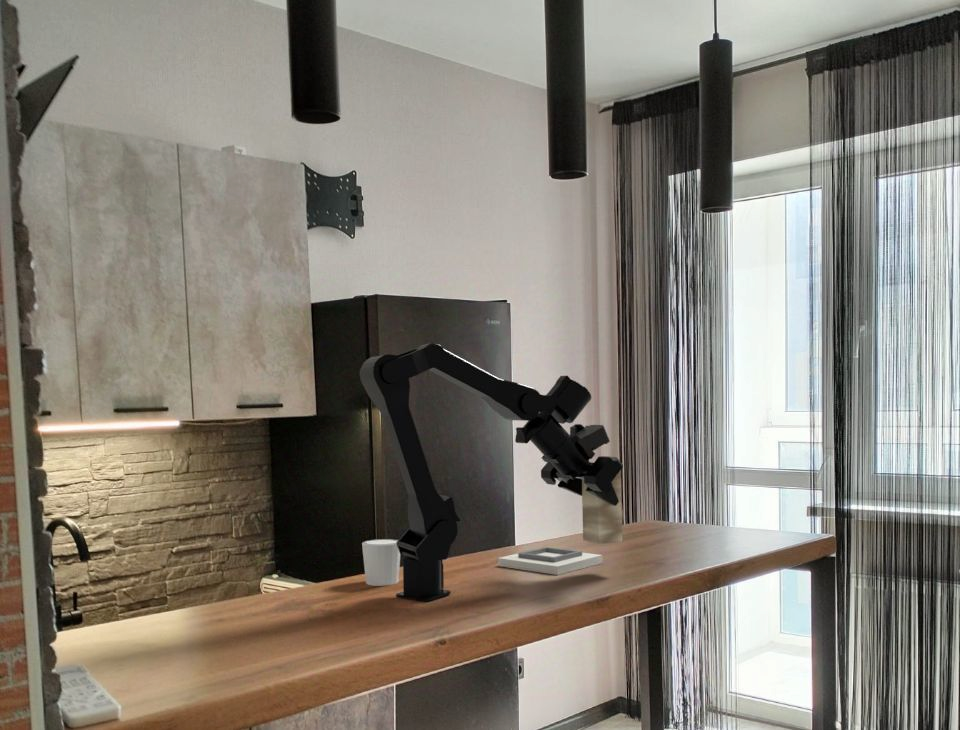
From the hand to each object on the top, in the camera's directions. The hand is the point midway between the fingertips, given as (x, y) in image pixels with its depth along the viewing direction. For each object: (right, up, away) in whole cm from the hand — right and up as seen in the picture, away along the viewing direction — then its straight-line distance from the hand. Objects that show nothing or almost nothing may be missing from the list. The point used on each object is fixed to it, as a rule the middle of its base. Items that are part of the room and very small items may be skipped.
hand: (608, 502), depth 152 cm
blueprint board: (-10, -13, +8) cm, 18 cm away
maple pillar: (-1, -7, -1) cm, 7 cm away
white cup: (-40, -13, -5) cm, 42 cm away
